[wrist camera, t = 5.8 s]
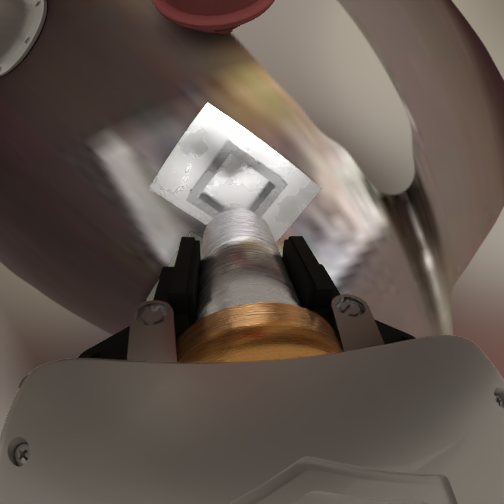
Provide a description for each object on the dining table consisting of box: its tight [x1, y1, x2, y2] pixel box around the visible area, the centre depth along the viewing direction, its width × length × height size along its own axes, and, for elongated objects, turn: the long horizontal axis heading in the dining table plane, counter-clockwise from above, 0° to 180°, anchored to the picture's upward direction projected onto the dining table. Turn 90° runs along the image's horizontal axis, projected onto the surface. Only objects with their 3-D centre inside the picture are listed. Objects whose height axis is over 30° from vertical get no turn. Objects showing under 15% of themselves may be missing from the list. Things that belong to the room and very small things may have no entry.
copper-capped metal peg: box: [176, 209, 343, 363], centre depth 10 cm, size 5×5×10 cm
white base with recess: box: [149, 102, 322, 242], centre depth 26 cm, size 14×10×4 cm
